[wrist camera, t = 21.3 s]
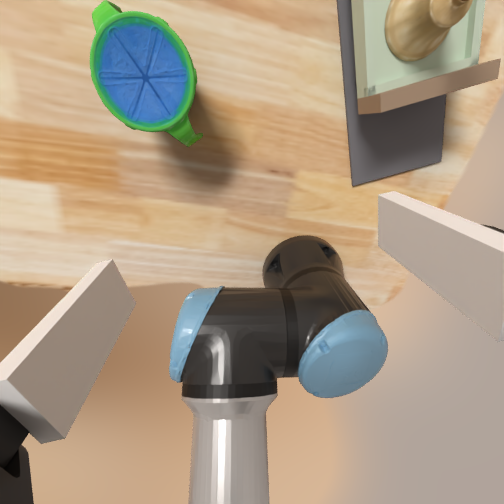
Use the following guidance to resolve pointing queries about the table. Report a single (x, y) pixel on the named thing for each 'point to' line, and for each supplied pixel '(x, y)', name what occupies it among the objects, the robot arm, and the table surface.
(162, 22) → the snack cup
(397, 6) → the hand bell
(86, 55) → the table surface
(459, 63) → the pale green tray
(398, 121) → the track
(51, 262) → the table surface
